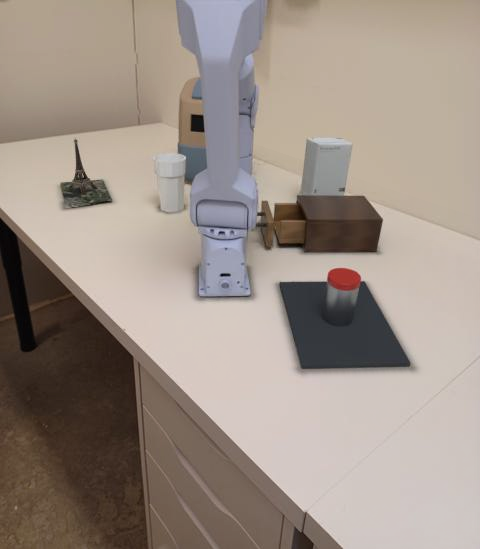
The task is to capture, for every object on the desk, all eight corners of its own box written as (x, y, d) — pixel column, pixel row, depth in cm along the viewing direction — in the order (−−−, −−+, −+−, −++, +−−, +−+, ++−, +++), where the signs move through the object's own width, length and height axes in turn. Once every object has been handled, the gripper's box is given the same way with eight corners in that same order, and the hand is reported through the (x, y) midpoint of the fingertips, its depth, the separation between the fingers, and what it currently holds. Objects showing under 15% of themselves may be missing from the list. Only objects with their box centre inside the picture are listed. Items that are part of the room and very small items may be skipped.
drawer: (243, 246, 86) (244, 222, 84) (239, 222, 95) (240, 200, 92) (333, 246, 87) (337, 222, 85) (321, 222, 96) (324, 200, 94)
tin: (355, 327, 66) (363, 285, 63) (323, 325, 66) (329, 283, 63) (350, 309, 70) (358, 268, 67) (320, 307, 70) (326, 266, 67)
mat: (409, 366, 61) (410, 362, 60) (301, 368, 60) (302, 365, 59) (363, 284, 78) (364, 281, 77) (279, 284, 77) (279, 281, 76)
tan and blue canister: (174, 185, 115) (170, 83, 103) (192, 164, 129) (190, 72, 117) (242, 191, 112) (246, 88, 101) (253, 170, 127) (257, 77, 115)
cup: (152, 212, 100) (149, 161, 95) (161, 200, 106) (158, 152, 100) (183, 215, 100) (181, 163, 94) (190, 203, 105) (189, 154, 100)
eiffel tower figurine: (113, 203, 104) (107, 142, 97) (65, 208, 100) (54, 145, 94) (102, 180, 116) (96, 125, 109) (59, 185, 112) (49, 127, 105)
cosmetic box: (309, 213, 102) (317, 144, 95) (297, 203, 107) (304, 137, 100) (343, 210, 105) (354, 142, 97) (331, 200, 110) (340, 135, 102)
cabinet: (304, 252, 87) (308, 219, 83) (293, 225, 97) (296, 195, 93) (376, 252, 88) (383, 219, 84) (358, 225, 98) (364, 195, 94)
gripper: (200, 144, 87) (201, 212, 93) (231, 167, 75) (229, 244, 82) (235, 140, 89) (233, 208, 96) (271, 163, 78) (266, 237, 85)
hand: (234, 224), depth 89 cm, fingers closed
